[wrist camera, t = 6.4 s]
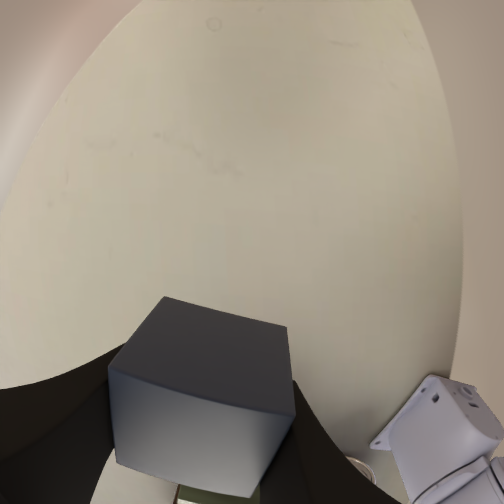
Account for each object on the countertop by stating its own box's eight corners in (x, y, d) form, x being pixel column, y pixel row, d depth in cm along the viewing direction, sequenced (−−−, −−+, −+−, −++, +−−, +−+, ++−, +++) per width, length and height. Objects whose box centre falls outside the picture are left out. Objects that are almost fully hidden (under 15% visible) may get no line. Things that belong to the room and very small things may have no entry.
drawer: (199, 408, 21) (180, 474, 15) (323, 429, 21) (335, 493, 15) (182, 494, 25) (171, 539, 19) (270, 509, 25) (269, 553, 19)
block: (163, 294, 10) (106, 365, 6) (287, 325, 10) (297, 415, 6) (153, 386, 11) (115, 463, 7) (256, 412, 11) (251, 499, 7)
